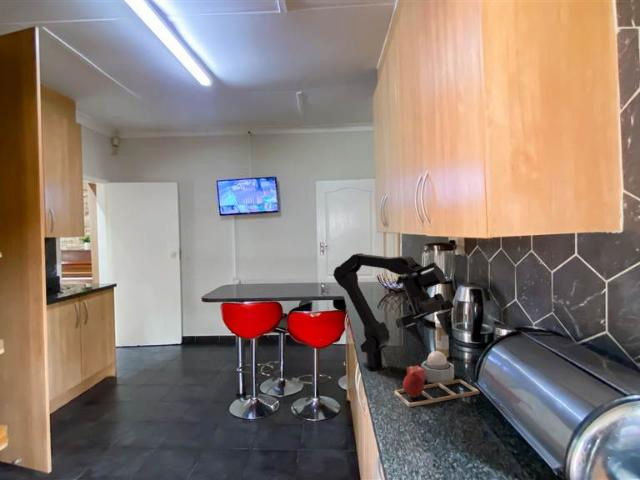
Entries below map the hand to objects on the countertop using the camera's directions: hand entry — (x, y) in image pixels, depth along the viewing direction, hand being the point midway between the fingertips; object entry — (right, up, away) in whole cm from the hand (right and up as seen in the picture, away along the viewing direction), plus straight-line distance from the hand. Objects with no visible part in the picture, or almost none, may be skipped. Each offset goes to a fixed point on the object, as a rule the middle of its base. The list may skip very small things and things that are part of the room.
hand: (435, 339), depth 115 cm
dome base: (0, -14, +4) cm, 14 cm away
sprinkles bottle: (+10, -13, +23) cm, 28 cm away
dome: (+2, -11, +5) cm, 12 cm away
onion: (-9, -15, -9) cm, 19 cm away
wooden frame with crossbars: (-2, -14, -7) cm, 16 cm away
